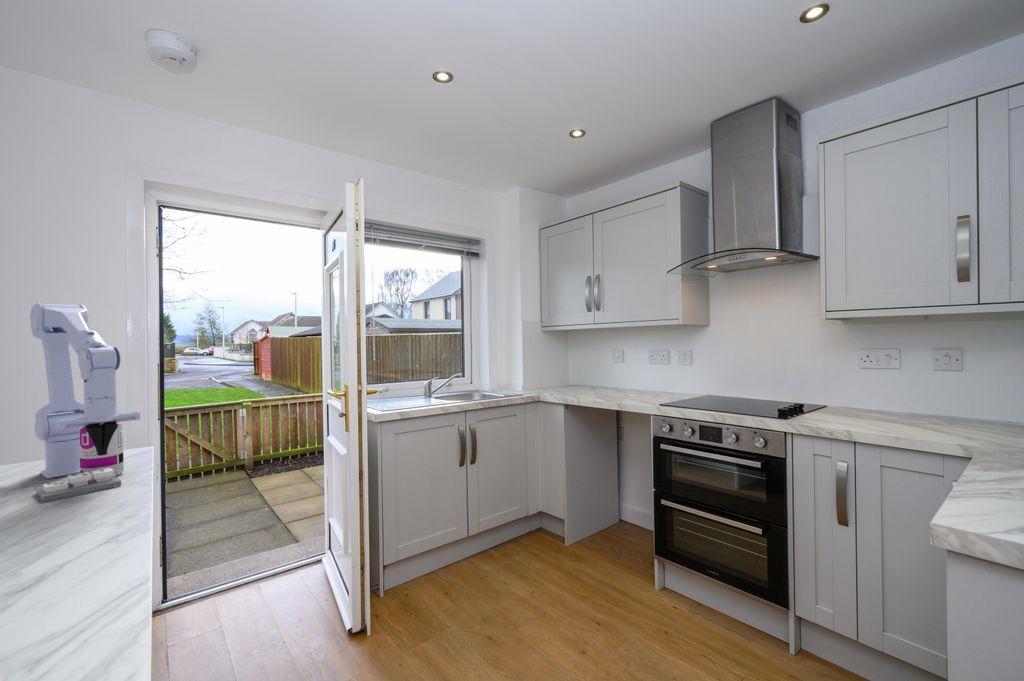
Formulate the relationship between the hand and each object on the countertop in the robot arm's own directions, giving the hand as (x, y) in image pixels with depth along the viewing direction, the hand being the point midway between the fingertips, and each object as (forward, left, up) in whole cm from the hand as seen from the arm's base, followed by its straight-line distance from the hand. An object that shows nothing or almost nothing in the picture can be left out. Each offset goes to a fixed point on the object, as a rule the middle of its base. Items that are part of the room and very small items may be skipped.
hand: (101, 454), depth 109 cm
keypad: (0, -4, -7) cm, 8 cm away
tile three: (0, -8, -7) cm, 11 cm away
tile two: (0, -4, -7) cm, 8 cm away
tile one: (0, 0, -6) cm, 6 cm away
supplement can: (-10, +2, -8) cm, 12 cm away
